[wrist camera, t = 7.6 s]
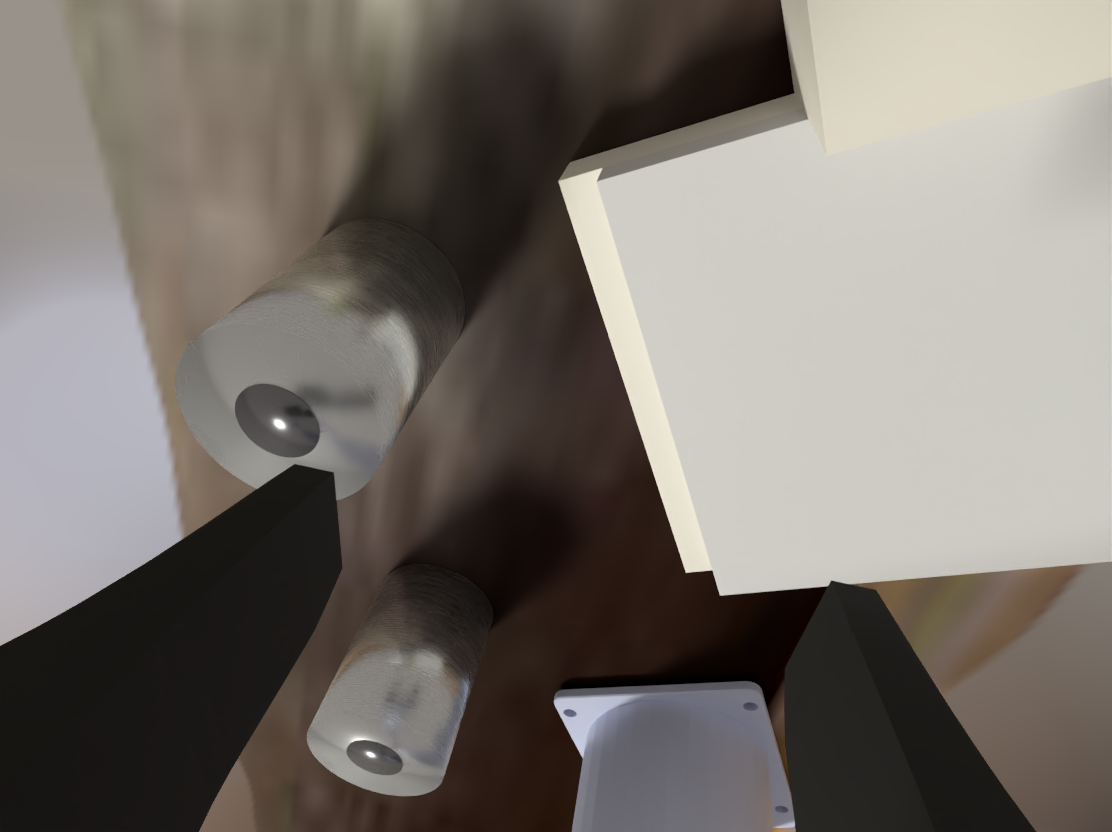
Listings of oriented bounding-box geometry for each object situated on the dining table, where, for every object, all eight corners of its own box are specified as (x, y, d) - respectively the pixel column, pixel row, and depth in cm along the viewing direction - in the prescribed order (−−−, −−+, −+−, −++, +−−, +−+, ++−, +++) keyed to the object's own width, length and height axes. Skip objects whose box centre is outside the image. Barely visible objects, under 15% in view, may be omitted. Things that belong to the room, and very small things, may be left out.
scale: (1454, 449, 16) (1701, 620, 12) (687, 537, 22) (682, 673, 18) (1819, -468, 9) (2740, -799, 5) (527, 26, 15) (458, 62, 11)
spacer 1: (489, 349, 19) (415, 489, 15) (357, 379, 21) (250, 515, 16) (424, 197, 17) (312, 302, 12) (281, 242, 19) (130, 352, 14)
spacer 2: (510, 639, 27) (465, 798, 22) (410, 646, 28) (347, 797, 23) (466, 557, 25) (405, 713, 20) (360, 570, 26) (280, 718, 21)
